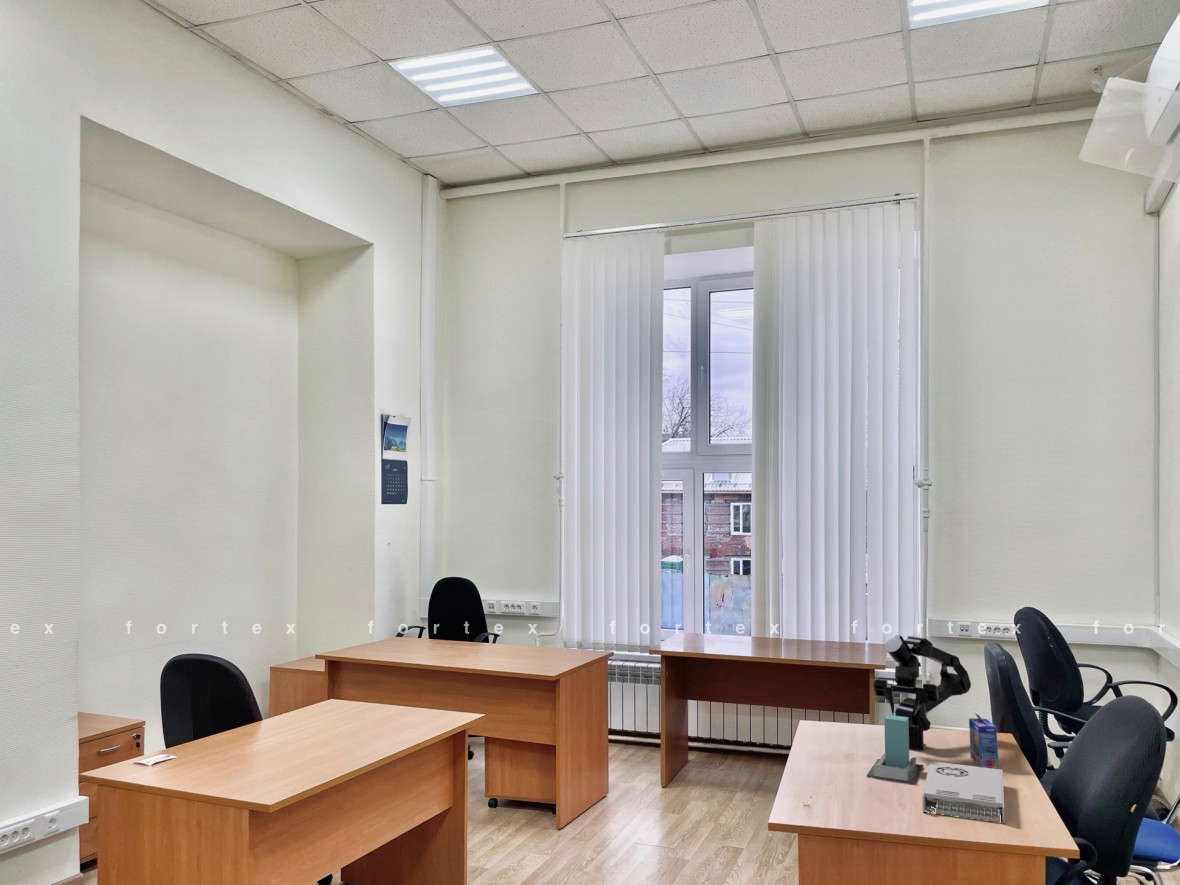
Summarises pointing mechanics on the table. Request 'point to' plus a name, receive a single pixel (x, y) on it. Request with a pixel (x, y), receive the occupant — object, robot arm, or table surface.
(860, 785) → the table surface
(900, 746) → the block
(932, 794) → the power supply unit
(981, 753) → the ink cartridge box
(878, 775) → the chute
